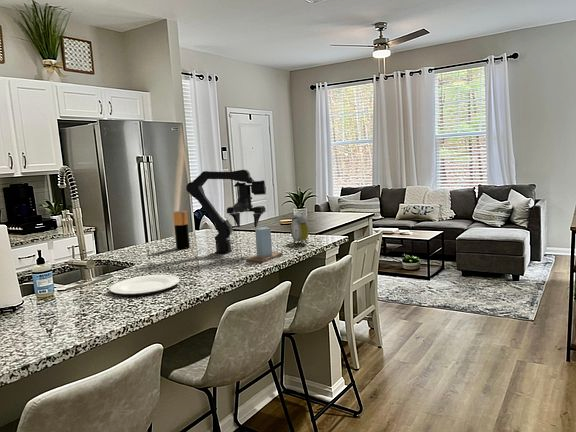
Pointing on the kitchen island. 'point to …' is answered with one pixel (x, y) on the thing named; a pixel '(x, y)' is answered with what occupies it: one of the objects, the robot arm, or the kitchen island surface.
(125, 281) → the plate
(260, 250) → the slate-blue post
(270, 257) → the tan flat board
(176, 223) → the battery
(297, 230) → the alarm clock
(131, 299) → the kitchen island surface
